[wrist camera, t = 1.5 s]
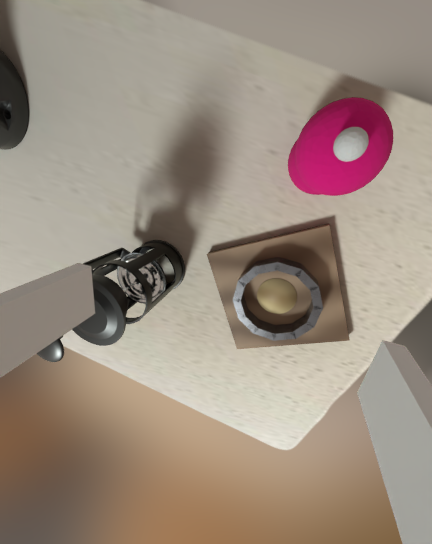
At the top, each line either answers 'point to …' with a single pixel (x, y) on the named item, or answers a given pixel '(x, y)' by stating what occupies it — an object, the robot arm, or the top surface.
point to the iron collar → (280, 330)
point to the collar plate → (283, 286)
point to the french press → (123, 292)
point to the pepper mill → (341, 148)
